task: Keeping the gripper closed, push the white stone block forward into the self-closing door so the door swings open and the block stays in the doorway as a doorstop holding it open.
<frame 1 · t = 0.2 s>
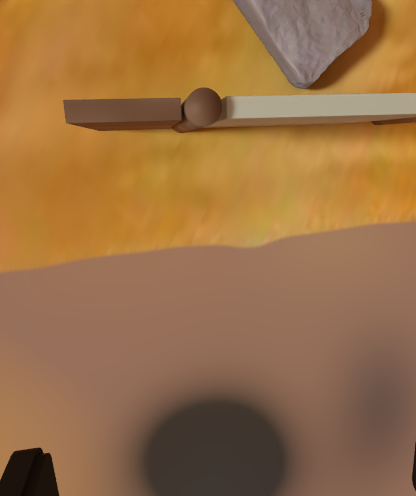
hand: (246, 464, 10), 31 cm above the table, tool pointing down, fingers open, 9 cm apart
door: (304, 113, 30), point 8 cm above the table, hinge at 0.0°
stone block: (298, 6, 36), on the table
door frame: (181, 121, 37), on the table
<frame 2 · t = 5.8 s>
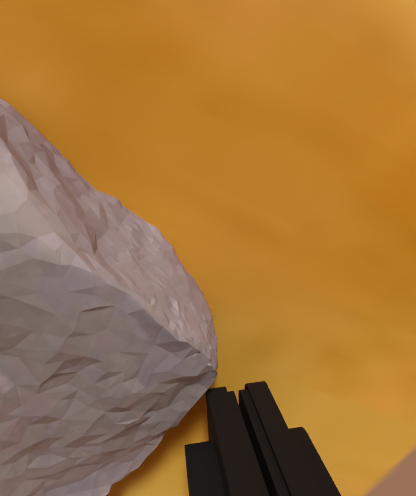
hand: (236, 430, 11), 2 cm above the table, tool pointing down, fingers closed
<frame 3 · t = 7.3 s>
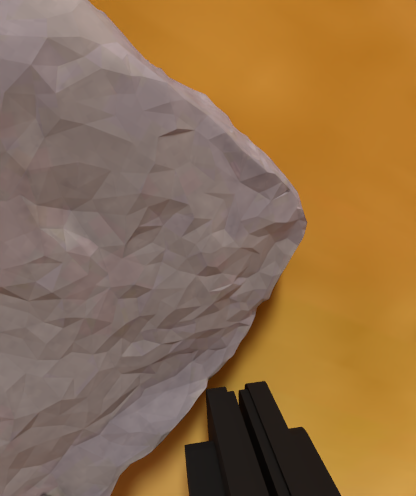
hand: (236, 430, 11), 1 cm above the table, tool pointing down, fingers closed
stone block: (55, 261, 11), on the table, touching gripper
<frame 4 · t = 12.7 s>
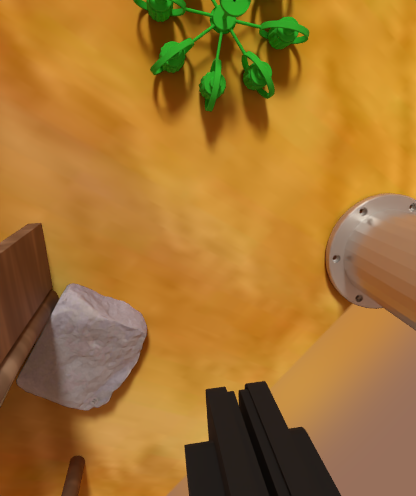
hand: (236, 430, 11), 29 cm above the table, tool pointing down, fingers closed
chandelier: (219, 26, 35), on the table
stone block: (90, 342, 41), on the table
door frame: (48, 298, 39), on the table
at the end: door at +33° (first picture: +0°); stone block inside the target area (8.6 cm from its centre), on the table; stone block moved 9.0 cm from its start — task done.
